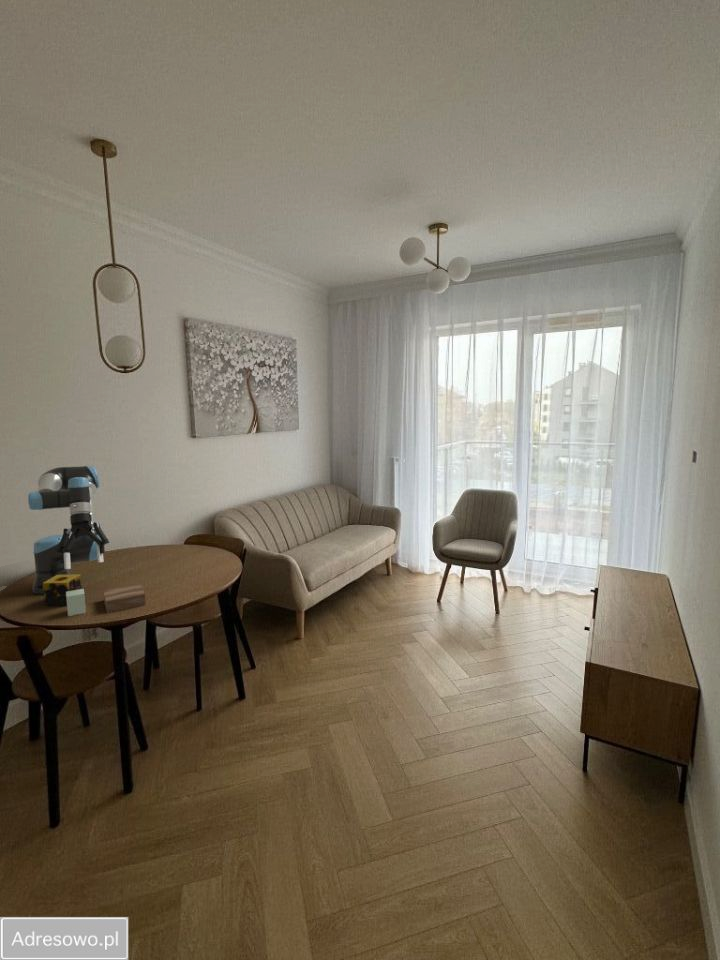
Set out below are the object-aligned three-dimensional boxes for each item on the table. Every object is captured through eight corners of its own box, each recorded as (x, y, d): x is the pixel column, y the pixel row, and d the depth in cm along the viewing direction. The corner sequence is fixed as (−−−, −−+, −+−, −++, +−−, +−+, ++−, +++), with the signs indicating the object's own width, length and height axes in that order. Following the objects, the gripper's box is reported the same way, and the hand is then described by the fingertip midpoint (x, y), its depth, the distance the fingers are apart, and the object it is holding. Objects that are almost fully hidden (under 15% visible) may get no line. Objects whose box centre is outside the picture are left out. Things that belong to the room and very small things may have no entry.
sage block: (67, 610, 184) (66, 591, 182) (85, 607, 187) (83, 588, 186) (68, 616, 179) (66, 596, 177) (86, 612, 182) (84, 593, 181)
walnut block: (104, 601, 194) (103, 589, 193) (140, 594, 202) (139, 583, 201) (107, 613, 182) (106, 601, 182) (145, 605, 190) (144, 594, 189)
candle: (83, 596, 198) (81, 573, 197) (69, 606, 188) (67, 582, 187) (59, 596, 198) (57, 574, 196) (44, 606, 188) (42, 582, 186)
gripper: (44, 519, 187) (47, 571, 182) (104, 506, 186) (109, 559, 182) (57, 521, 194) (60, 571, 189) (115, 509, 194) (119, 559, 189)
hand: (84, 565), depth 186 cm, fingers open, 13 cm apart
